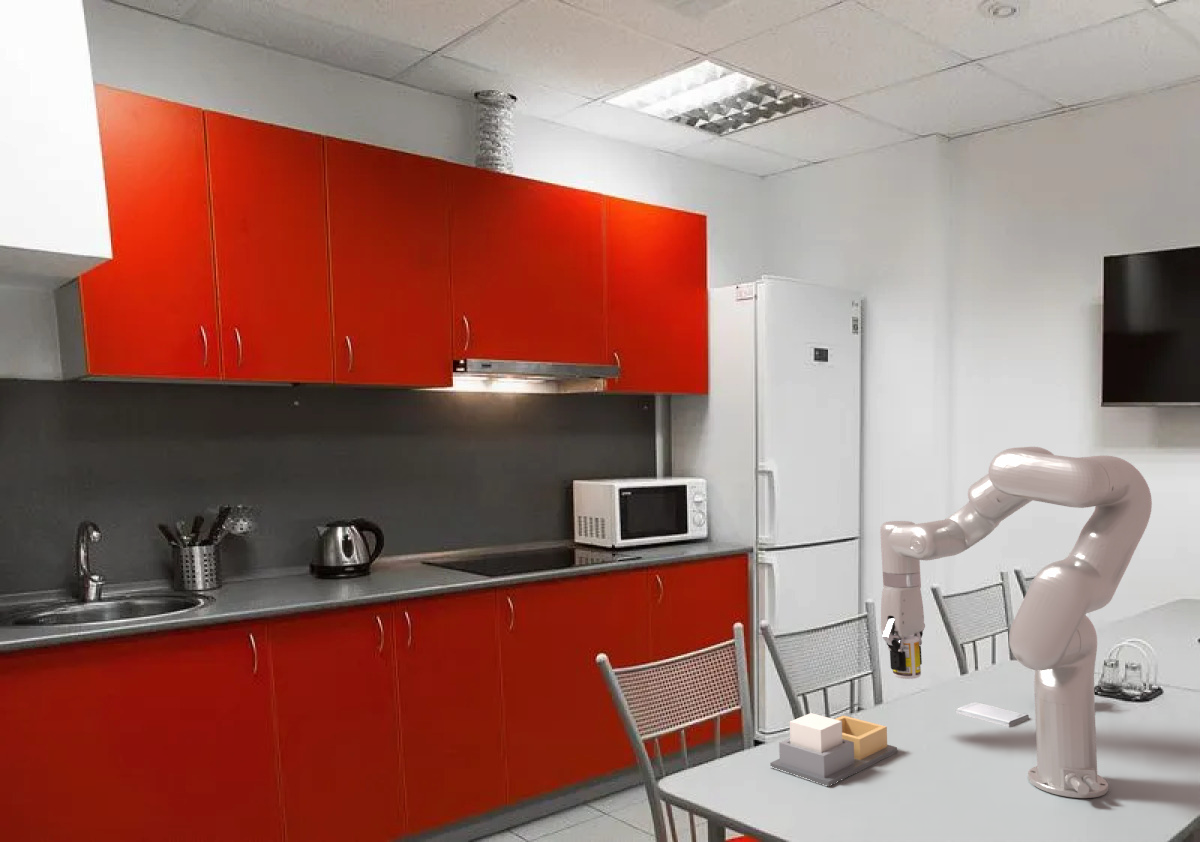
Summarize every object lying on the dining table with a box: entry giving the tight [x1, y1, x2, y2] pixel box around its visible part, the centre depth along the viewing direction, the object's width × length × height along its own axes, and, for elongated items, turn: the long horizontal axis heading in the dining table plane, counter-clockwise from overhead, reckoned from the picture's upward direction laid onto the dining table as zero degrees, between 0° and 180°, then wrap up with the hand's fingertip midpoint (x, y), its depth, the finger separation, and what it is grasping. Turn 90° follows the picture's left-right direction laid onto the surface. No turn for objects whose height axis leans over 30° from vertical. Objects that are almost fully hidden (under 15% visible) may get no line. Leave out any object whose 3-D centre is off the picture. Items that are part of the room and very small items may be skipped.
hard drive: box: [955, 701, 1030, 728], centre depth 192 cm, size 2×8×12 cm
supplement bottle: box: [892, 633, 922, 680], centre depth 180 cm, size 6×6×10 cm
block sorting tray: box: [770, 712, 898, 787], centre depth 169 cm, size 24×13×9 cm, turn 132°
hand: (906, 666), depth 180 cm, fingers closed on supplement bottle, 5 cm apart
